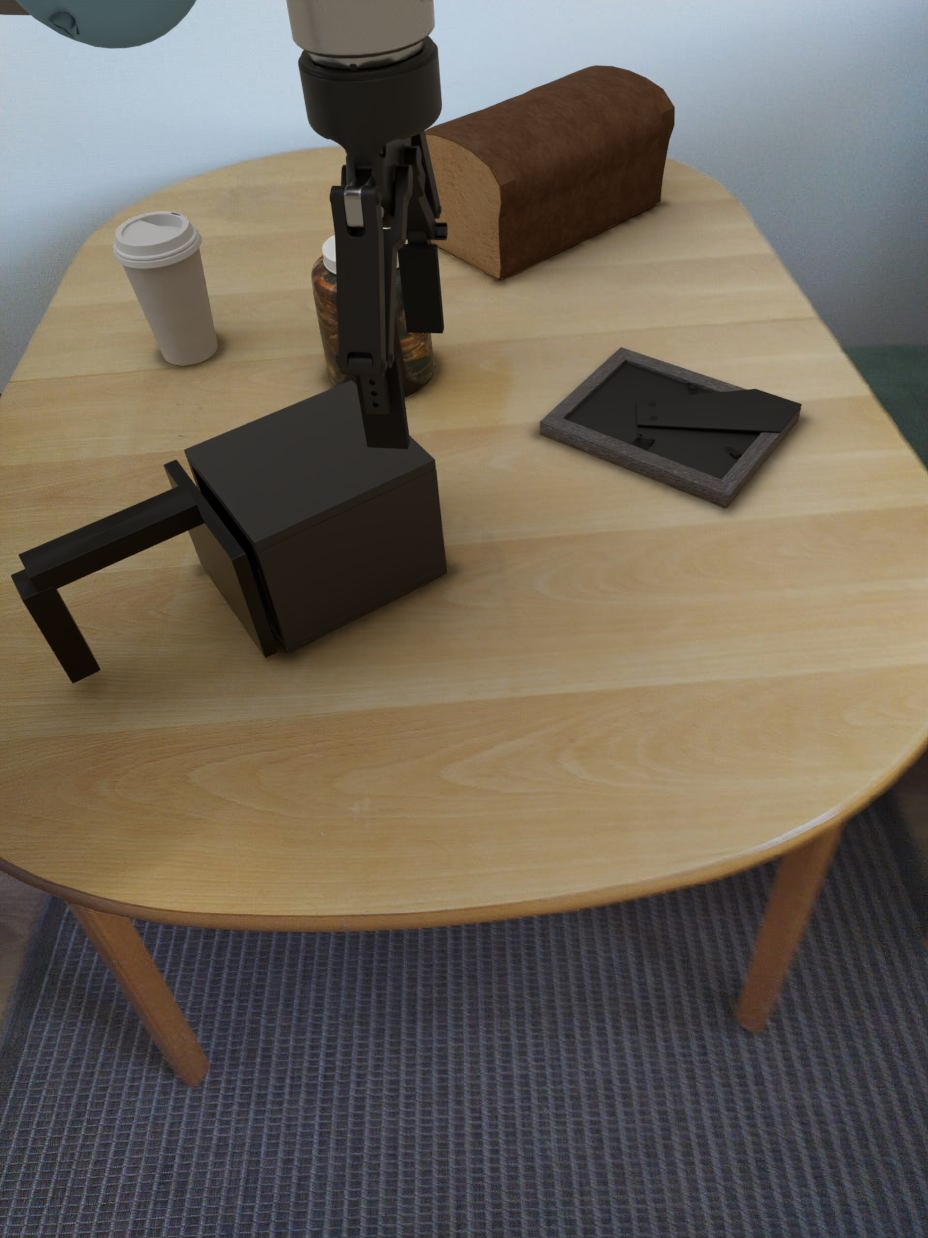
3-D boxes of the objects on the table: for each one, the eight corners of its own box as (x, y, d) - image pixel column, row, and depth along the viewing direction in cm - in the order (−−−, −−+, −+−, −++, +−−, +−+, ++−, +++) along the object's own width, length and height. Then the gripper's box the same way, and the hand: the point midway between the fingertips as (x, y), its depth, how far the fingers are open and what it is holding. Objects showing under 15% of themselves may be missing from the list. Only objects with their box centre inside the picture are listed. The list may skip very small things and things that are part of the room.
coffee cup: (244, 353, 111) (211, 229, 100) (168, 383, 108) (125, 258, 97) (211, 319, 117) (176, 198, 106) (138, 347, 114) (94, 225, 102)
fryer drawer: (102, 741, 74) (34, 632, 64) (49, 633, 82) (-18, 520, 72) (426, 576, 84) (411, 459, 74) (351, 494, 92) (328, 378, 82)
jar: (351, 414, 102) (328, 285, 91) (315, 361, 109) (290, 236, 98) (450, 382, 105) (439, 253, 94) (409, 332, 112) (394, 207, 101)
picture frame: (798, 420, 97) (619, 359, 106) (802, 403, 95) (621, 343, 104) (726, 508, 89) (539, 433, 98) (729, 491, 87) (539, 417, 96)
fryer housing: (288, 654, 80) (254, 543, 70) (222, 560, 88) (183, 449, 78) (447, 573, 85) (435, 459, 75) (371, 491, 93) (351, 379, 84)
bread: (669, 207, 129) (682, 78, 117) (505, 288, 118) (500, 154, 106) (576, 168, 139) (580, 46, 127) (416, 239, 127) (403, 112, 115)
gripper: (387, 140, 41) (430, 506, 57) (470, -30, 57) (485, 291, 73) (224, 140, 42) (310, 499, 58) (351, -27, 59) (391, 289, 74)
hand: (408, 384), depth 66 cm, fingers open, 13 cm apart
